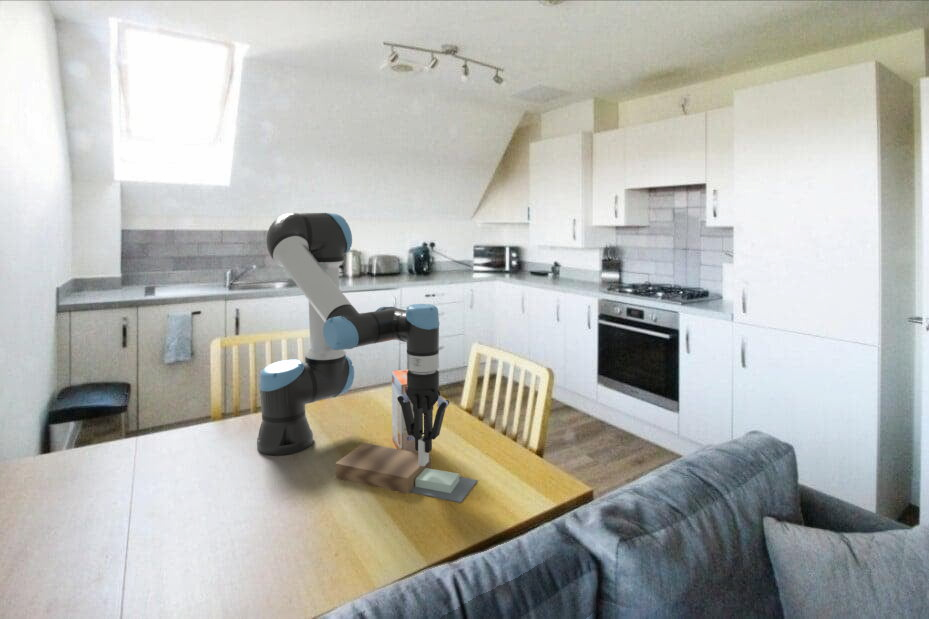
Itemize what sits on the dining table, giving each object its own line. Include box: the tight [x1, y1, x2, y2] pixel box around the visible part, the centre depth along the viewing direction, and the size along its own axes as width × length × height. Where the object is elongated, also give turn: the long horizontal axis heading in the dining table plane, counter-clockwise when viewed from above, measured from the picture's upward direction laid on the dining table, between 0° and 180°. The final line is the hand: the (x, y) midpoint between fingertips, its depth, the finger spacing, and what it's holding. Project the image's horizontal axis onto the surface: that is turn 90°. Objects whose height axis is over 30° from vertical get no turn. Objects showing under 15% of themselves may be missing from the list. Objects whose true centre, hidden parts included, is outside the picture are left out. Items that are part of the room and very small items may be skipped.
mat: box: [409, 475, 478, 504], centre depth 129 cm, size 13×11×1 cm
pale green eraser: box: [415, 468, 460, 493], centre depth 129 cm, size 9×6×2 cm, turn 71°
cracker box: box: [391, 369, 418, 453], centre depth 148 cm, size 14×6×21 cm, turn 18°
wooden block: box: [334, 442, 432, 495], centre depth 135 cm, size 20×13×4 cm, turn 69°
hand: (423, 463), depth 130 cm, fingers closed
